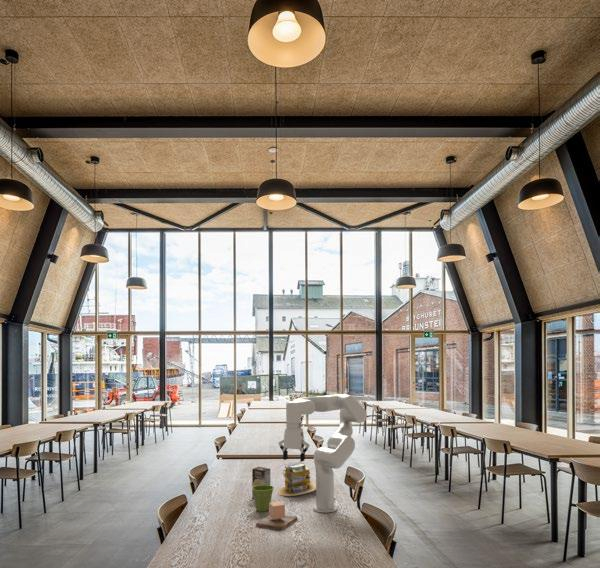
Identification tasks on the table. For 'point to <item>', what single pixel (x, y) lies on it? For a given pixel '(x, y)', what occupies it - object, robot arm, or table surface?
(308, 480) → the plate with layered stack
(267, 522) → the post board
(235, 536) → the table surface
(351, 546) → the table surface
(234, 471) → the table surface
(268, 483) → the coffee box
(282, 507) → the salmon orange cube
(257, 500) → the plant pot
